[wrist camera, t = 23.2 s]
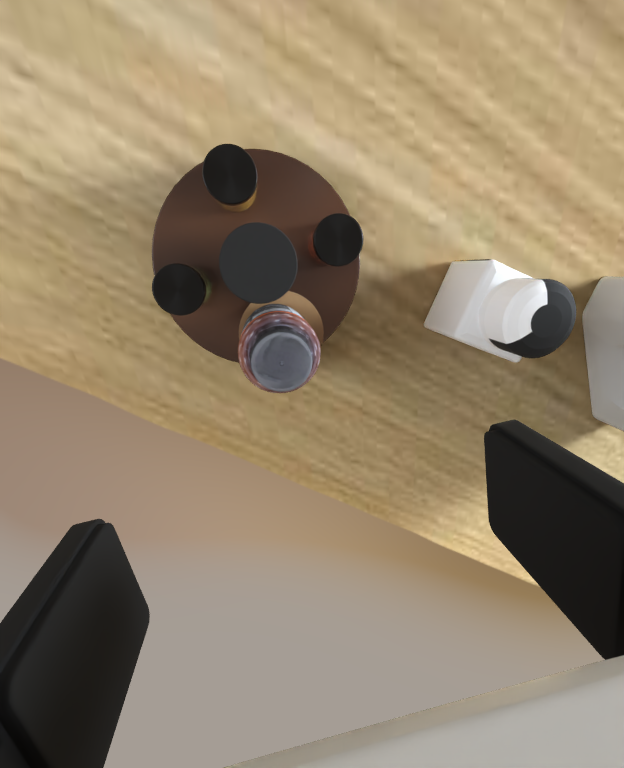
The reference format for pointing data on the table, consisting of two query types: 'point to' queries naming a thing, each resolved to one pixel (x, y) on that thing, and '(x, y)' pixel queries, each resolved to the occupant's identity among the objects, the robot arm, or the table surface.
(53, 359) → the table surface
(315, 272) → the spice rack
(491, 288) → the medicine bottle
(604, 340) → the white triangular tub
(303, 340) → the supplement bottle
